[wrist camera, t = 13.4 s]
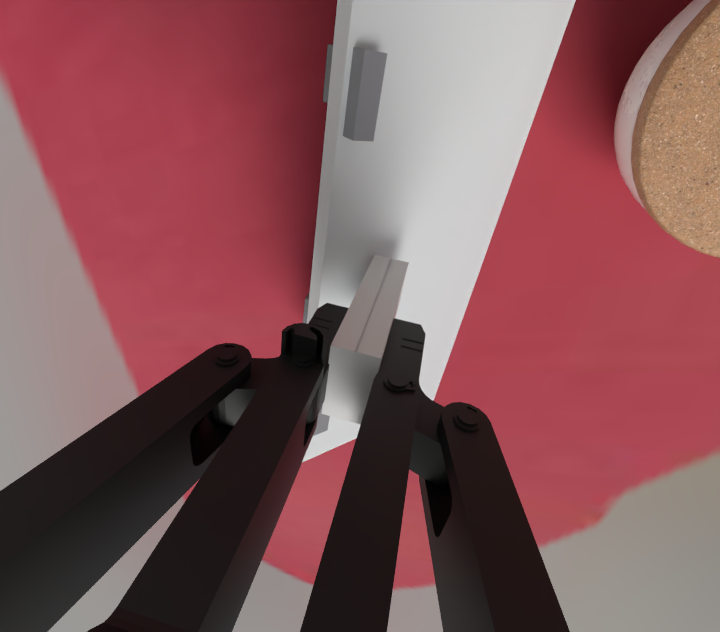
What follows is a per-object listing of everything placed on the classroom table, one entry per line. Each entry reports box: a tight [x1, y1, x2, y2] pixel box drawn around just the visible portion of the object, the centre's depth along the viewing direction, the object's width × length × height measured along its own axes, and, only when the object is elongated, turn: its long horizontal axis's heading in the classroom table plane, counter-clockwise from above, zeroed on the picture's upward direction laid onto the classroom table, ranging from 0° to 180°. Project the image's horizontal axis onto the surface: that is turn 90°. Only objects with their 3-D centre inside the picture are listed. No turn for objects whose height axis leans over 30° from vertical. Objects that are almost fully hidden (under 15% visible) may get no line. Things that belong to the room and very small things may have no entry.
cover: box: [302, 0, 576, 462], centre depth 19 cm, size 22×10×1 cm
